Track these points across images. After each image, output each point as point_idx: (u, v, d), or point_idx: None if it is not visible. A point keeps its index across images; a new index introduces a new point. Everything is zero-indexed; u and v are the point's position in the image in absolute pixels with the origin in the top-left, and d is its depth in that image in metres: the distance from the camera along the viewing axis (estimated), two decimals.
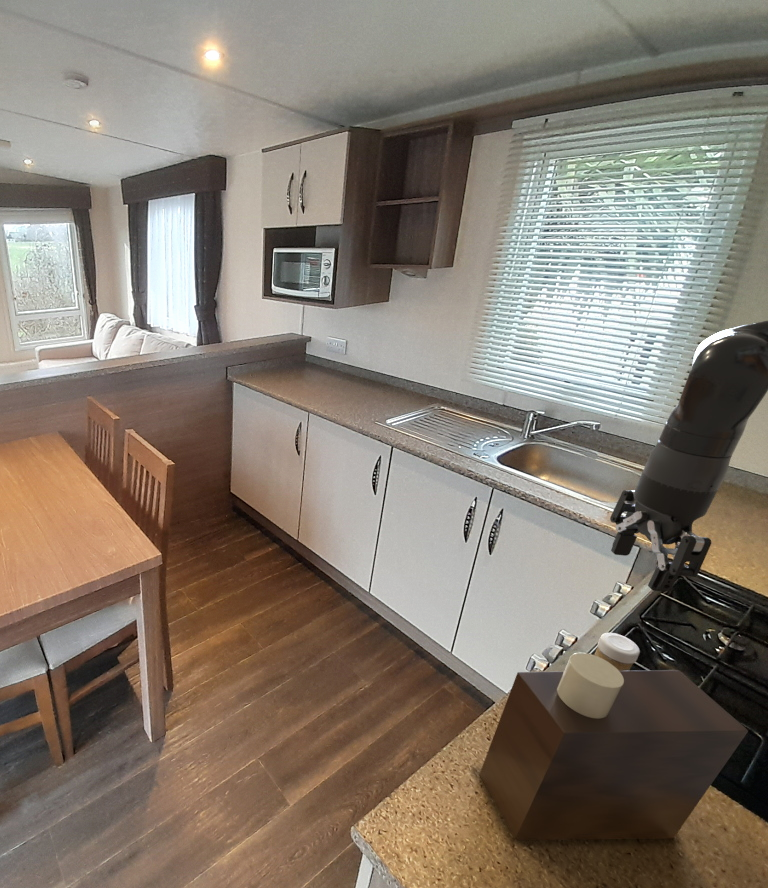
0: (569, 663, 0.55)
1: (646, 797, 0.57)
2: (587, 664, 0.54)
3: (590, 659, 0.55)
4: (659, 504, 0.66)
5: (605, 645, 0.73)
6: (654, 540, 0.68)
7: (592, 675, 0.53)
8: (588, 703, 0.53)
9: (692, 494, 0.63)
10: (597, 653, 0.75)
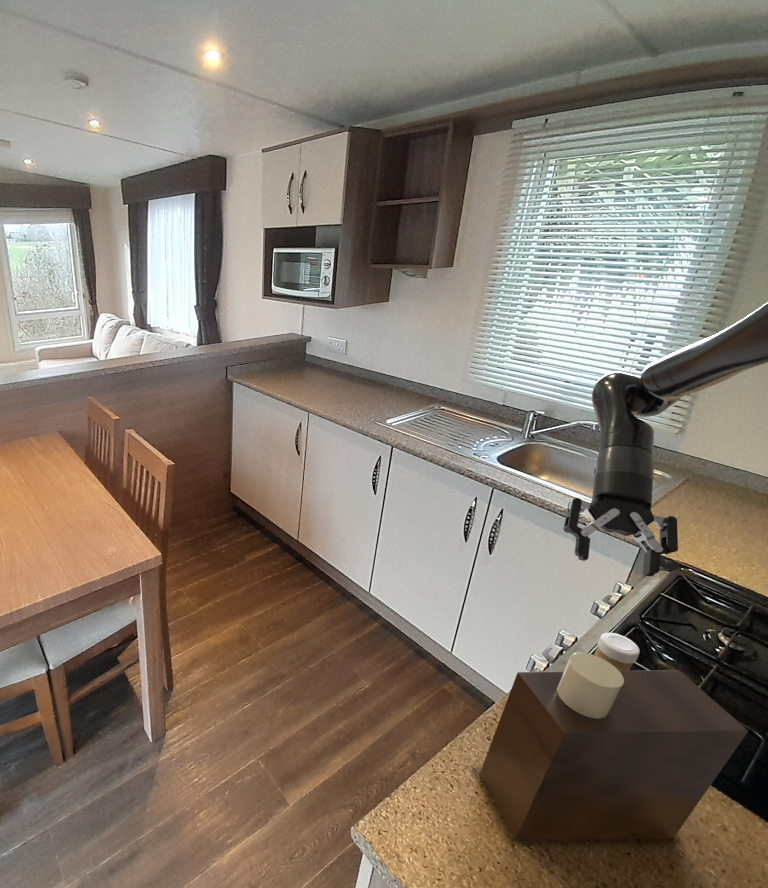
0: (569, 663, 0.55)
1: (646, 797, 0.57)
2: (587, 664, 0.54)
3: (590, 659, 0.55)
4: None
5: (604, 645, 0.73)
6: None
7: (592, 675, 0.53)
8: (588, 703, 0.53)
9: (594, 478, 0.85)
10: (597, 653, 0.75)
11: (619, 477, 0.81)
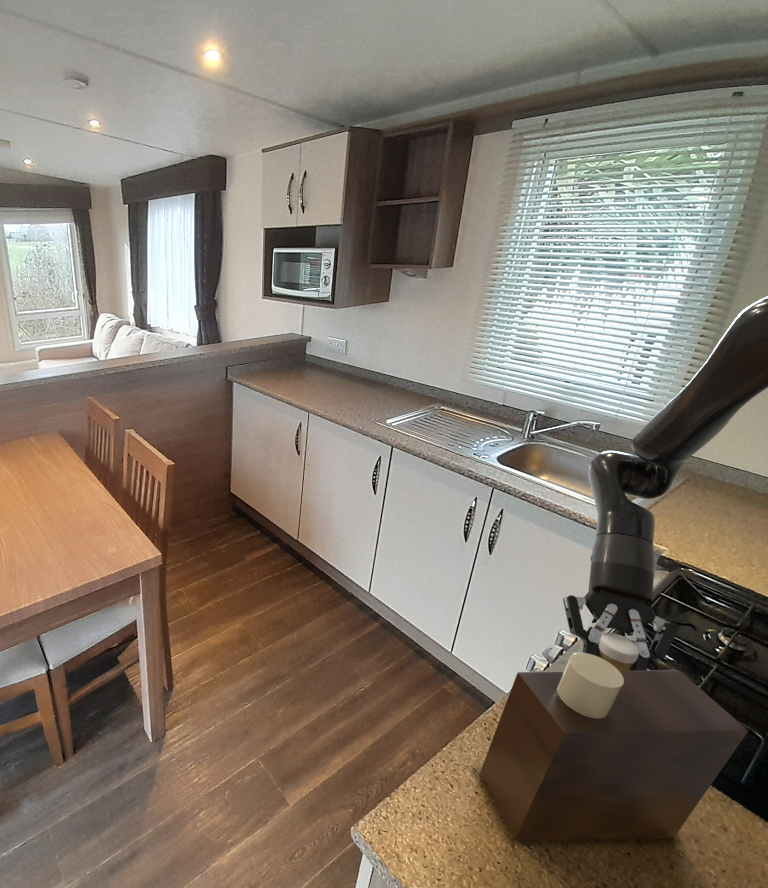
0: (569, 663, 0.55)
1: (646, 797, 0.57)
2: (587, 664, 0.54)
3: (590, 659, 0.55)
4: None
5: (605, 645, 0.73)
6: None
7: (592, 675, 0.53)
8: (588, 703, 0.53)
9: (591, 566, 0.80)
10: None
11: (616, 570, 0.75)
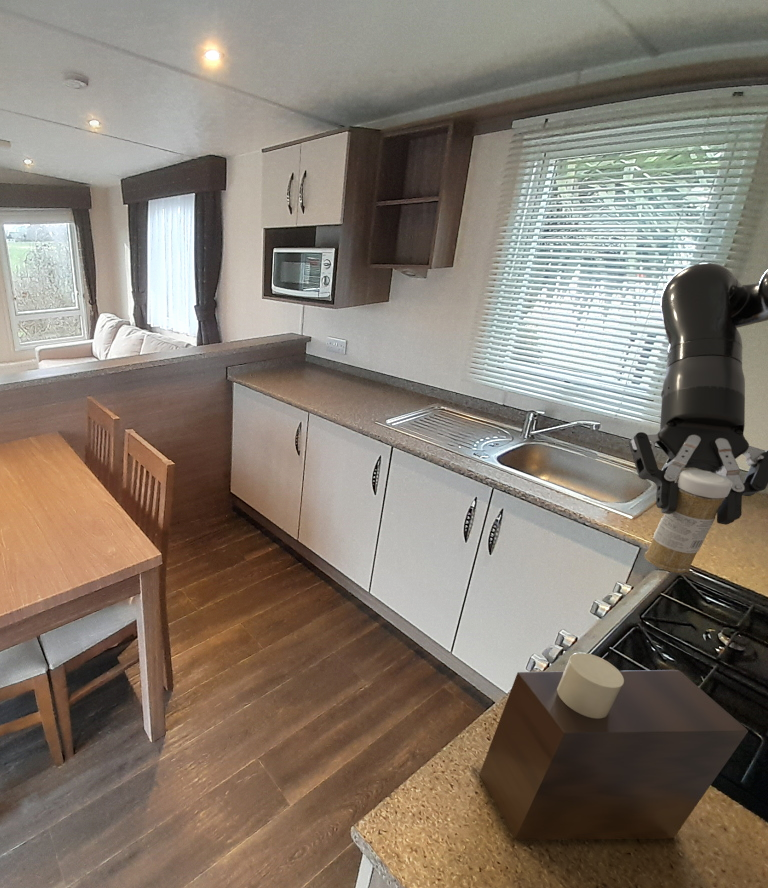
0: (569, 663, 0.55)
1: (646, 797, 0.57)
2: (587, 664, 0.54)
3: (590, 659, 0.55)
4: None
5: (687, 480, 0.59)
6: None
7: (592, 675, 0.53)
8: (588, 703, 0.53)
9: (662, 402, 0.66)
10: None
11: (698, 394, 0.62)
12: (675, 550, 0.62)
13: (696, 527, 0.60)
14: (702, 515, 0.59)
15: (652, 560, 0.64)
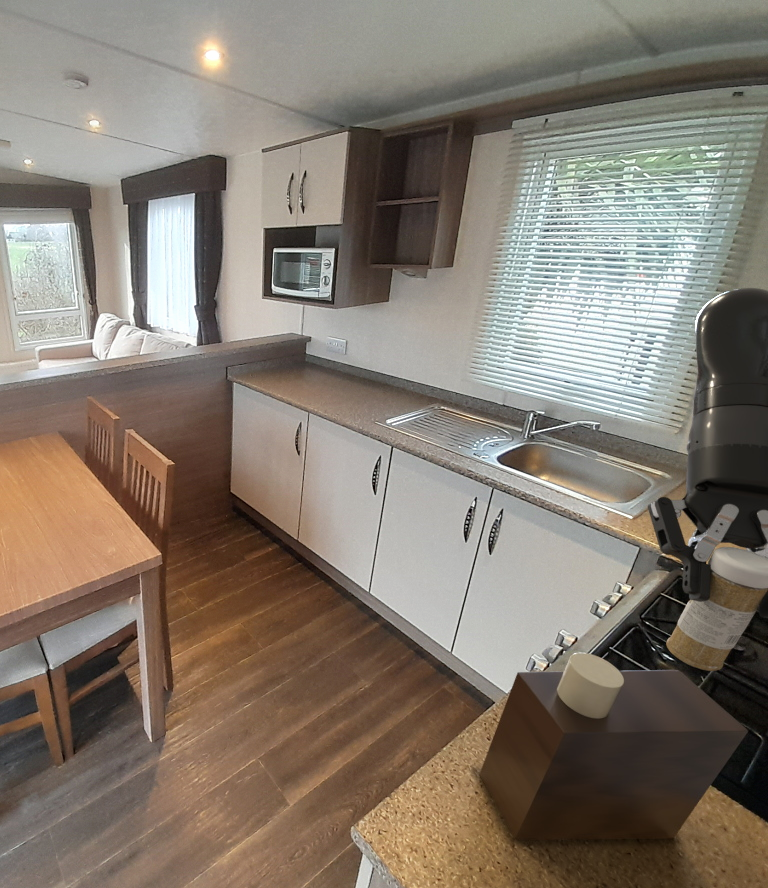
0: (569, 663, 0.55)
1: (646, 797, 0.57)
2: (587, 664, 0.54)
3: (590, 659, 0.55)
4: None
5: (723, 563, 0.48)
6: None
7: (592, 675, 0.53)
8: (588, 703, 0.53)
9: (688, 458, 0.55)
10: None
11: (736, 454, 0.50)
12: (706, 644, 0.50)
13: (733, 620, 0.48)
14: (742, 607, 0.48)
15: (676, 652, 0.53)
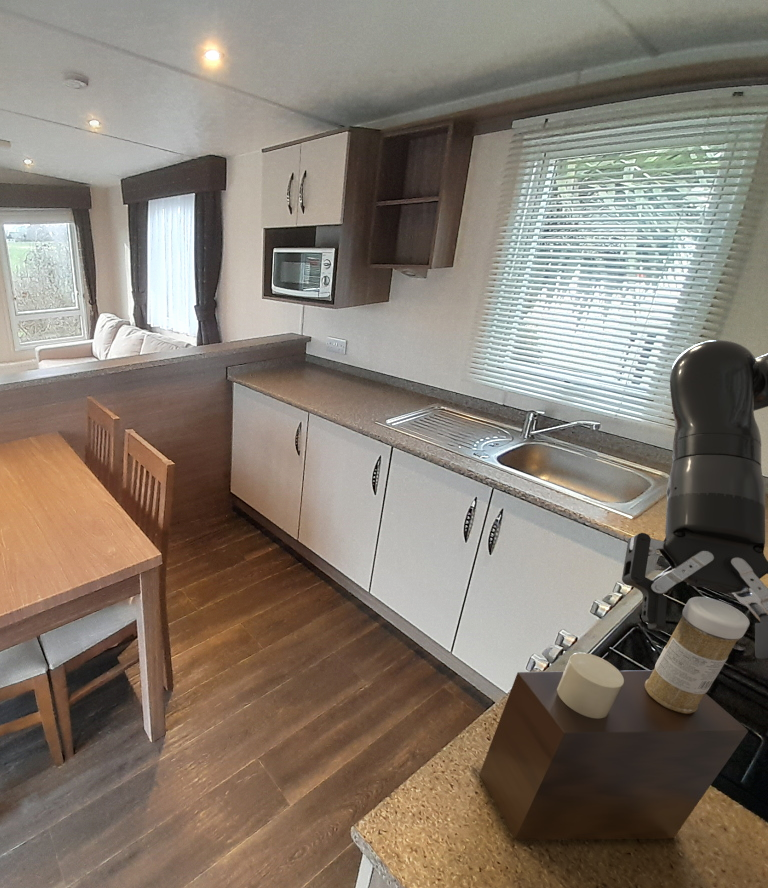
0: (569, 663, 0.55)
1: (646, 797, 0.57)
2: (587, 664, 0.54)
3: (590, 659, 0.55)
4: None
5: (696, 614, 0.51)
6: None
7: (592, 675, 0.53)
8: (588, 703, 0.53)
9: (667, 502, 0.57)
10: (682, 626, 0.52)
11: (711, 503, 0.53)
12: (681, 689, 0.53)
13: (706, 667, 0.51)
14: (713, 655, 0.50)
15: (653, 694, 0.56)
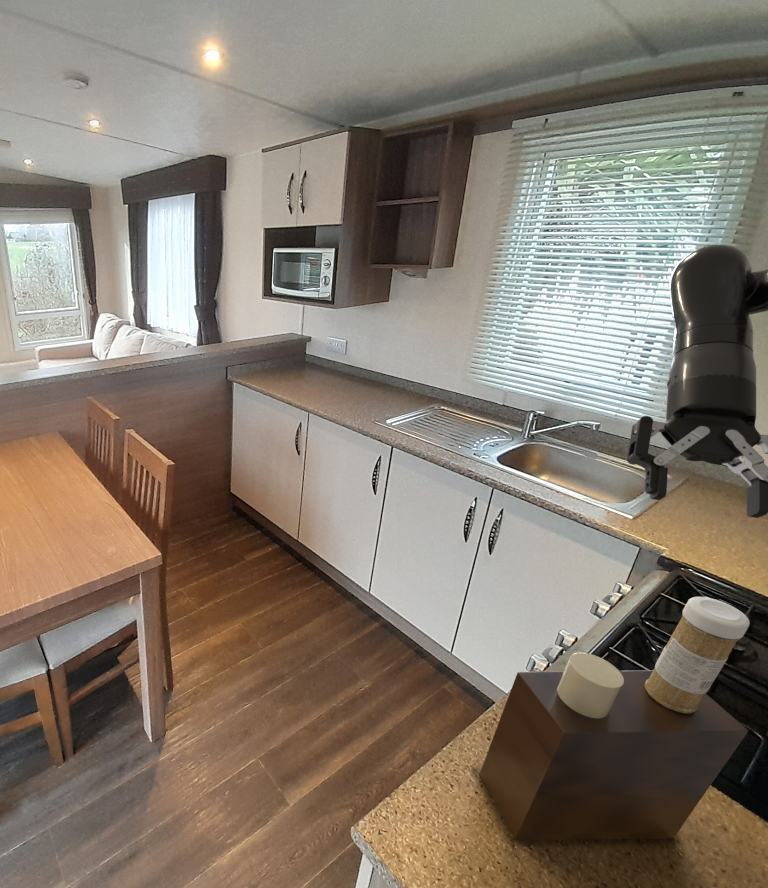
0: (569, 663, 0.55)
1: (646, 797, 0.57)
2: (587, 664, 0.54)
3: (590, 659, 0.55)
4: None
5: (696, 614, 0.51)
6: None
7: (592, 675, 0.53)
8: (588, 703, 0.53)
9: (668, 391, 0.63)
10: (682, 626, 0.52)
11: (708, 383, 0.58)
12: (681, 689, 0.53)
13: (706, 667, 0.51)
14: (713, 656, 0.50)
15: (653, 694, 0.56)
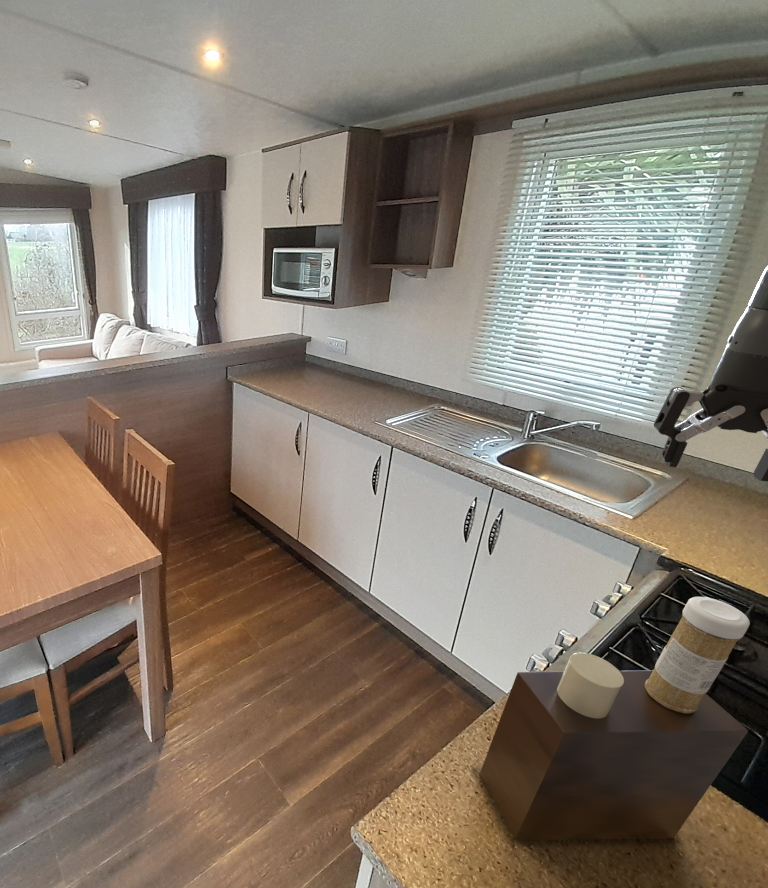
0: (569, 663, 0.55)
1: (646, 797, 0.57)
2: (587, 664, 0.54)
3: (590, 659, 0.55)
4: None
5: (696, 614, 0.51)
6: None
7: (592, 675, 0.53)
8: (588, 703, 0.53)
9: (724, 351, 0.58)
10: (682, 626, 0.52)
11: (762, 366, 0.54)
12: (681, 689, 0.53)
13: (706, 667, 0.51)
14: (713, 656, 0.50)
15: (653, 694, 0.56)
